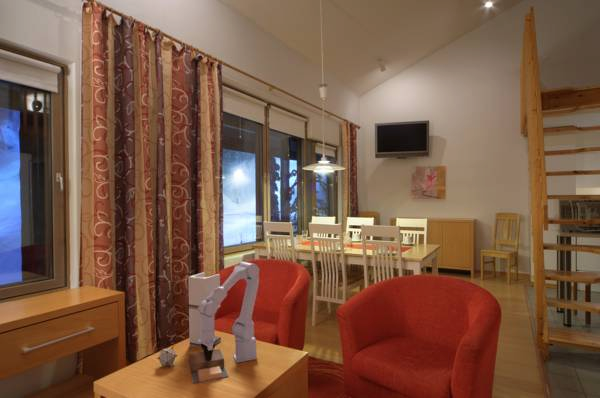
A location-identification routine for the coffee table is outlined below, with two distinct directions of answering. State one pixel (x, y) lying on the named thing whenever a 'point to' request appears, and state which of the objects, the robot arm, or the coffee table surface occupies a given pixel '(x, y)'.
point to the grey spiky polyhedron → (167, 357)
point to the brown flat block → (200, 363)
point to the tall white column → (197, 293)
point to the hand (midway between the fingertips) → (208, 360)
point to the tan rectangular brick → (209, 373)
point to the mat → (196, 379)
